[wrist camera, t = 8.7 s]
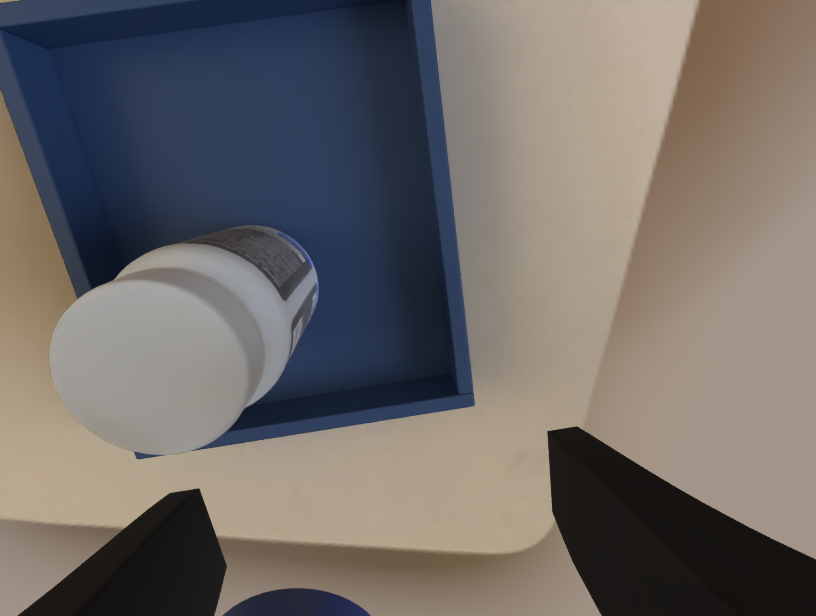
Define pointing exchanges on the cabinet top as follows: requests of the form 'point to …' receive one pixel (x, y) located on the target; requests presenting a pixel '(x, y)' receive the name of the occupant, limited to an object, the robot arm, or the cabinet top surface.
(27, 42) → the blue tray
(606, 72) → the cabinet top surface
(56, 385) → the pill bottle
